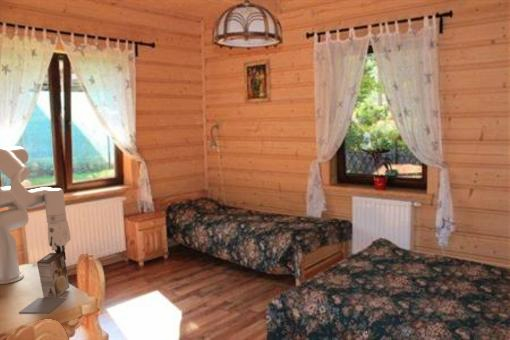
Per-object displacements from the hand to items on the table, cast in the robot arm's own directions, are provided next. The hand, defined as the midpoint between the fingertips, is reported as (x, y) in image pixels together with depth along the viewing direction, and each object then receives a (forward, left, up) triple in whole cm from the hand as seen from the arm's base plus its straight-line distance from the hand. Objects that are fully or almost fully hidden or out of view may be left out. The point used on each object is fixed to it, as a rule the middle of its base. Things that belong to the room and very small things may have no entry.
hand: (61, 260), depth 190 cm
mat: (0, -17, -13) cm, 21 cm away
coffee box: (-1, -5, -12) cm, 13 cm away
